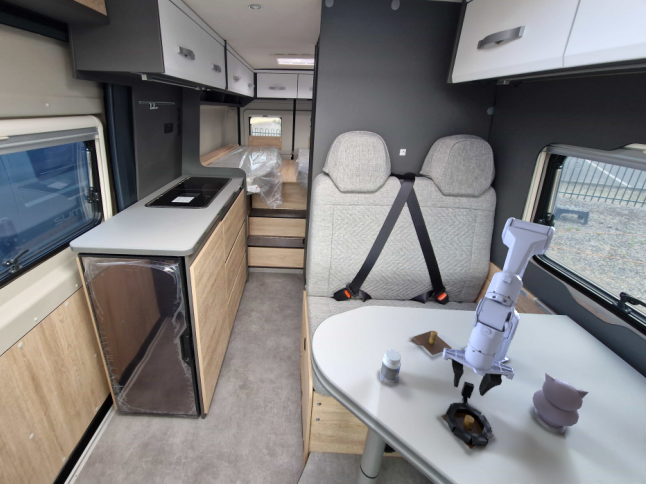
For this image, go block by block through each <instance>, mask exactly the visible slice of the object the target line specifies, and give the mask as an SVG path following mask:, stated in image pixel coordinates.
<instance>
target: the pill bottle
mask: <svg viewBox="0 0 646 484" xmlns="http://www.w3.org/2000/svg"><path fill="white" fill-rule="evenodd" d="M401 359H402V355H401V353H400V352H399V351H397V350H395V349H392V348H390V349H387V350H386V351H385V353H384V355H383V357H382V361H381V367H380V371H379V379H380V380H381V381H383V380H384V382H385V381H386V382H387V383H396V382H397V381H398V379H399V374H400V371H401V368H402V367H401V366H402V362H401V361H402V360H401Z"/></svg>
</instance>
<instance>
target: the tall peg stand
mask: <svg viewBox="0 0 646 484" xmlns="http://www.w3.org/2000/svg"><path fill="white" fill-rule="evenodd" d="M411 340H412V341H413V342H414V343H415V344H416V345H417V346H421V347H422V348H425V350H426V351H427V352H428V353H429V354H430V355H431V356H434V355H437V354H440V353H443V351H444V348H447V349H453V348H452V347H451V346H450V345H449V344H448V343H447V342H446V341H445V340H443V339H442V338H441V337H440V336H439V334H438V332H437V331H436V330H430V331H426V332H423V333H421V334H418V335H415V336H412V339H411Z"/></svg>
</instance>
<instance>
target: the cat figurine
mask: <svg viewBox="0 0 646 484" xmlns="http://www.w3.org/2000/svg"><path fill="white" fill-rule="evenodd" d="M544 377H545V378H544V382H543V384H542V386H541V389H539V390H537V391H535V392H534V393H533V395H532V403H533V406H534V409H533V411H534V414H535V416H536V417H537V418H538V420H539V421H540V422H541V423H542V424H543V425H546V426H547V427H549V428H550V429H553V430H555V431H559V434H560V435H563V434H564V433H566V430H567V428H568V427H572V426H574V425H576V424H577V423H578V422H579V418H580V415H579V411H578V410H580V409H581V408H582V406H583V403H584V400H583V399H584V398H585V397H586V396H587V395H588V394H589V391H587V390H583V389H579V388H576V387H575V386H573V385H572V384H571V383H570V382H568V381H564V380H562V379H558V378H554V377H552V376H551V375H549V374H548V373H547V372H545V373H544Z"/></svg>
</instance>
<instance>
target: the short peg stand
mask: <svg viewBox="0 0 646 484" xmlns="http://www.w3.org/2000/svg"><path fill="white" fill-rule="evenodd" d="M445 415H446V413H445V414H442V415H441V416H440V417H441V418H442V419H443V420H444V422H445V423H446V424H447V425H448V423H447V421H446V419H445V418H446V417H445ZM454 417H455V419H456V421H457V423H458V425H459V426H460V427H462V428H463V429H465V430H466V431H468V432H469V433H471V434H481V433H482V429H481V427H480V426H479V424H478V422H477V421H476V420H475V419H473V418H472V417H471V416H469V415H467V414H466V413H456V414H455V416H454ZM495 436H496V435H495V434H494V433H493V432H492V433H491V436H490V439H491V438H493V437H495ZM461 441H462V442H463V443H464V444H465V445H466V446H467V448H468V449H469V450H472V449H474V448H475V447H476V446H471V444H470V442H469V444H467V443H466V442H464V441H463V440H461Z"/></svg>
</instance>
